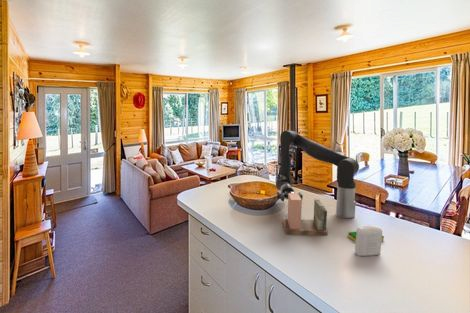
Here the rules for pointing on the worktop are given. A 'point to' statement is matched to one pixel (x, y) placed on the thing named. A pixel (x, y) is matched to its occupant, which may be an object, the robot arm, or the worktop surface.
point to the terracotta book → (294, 210)
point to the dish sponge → (353, 236)
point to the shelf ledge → (311, 222)
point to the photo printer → (368, 240)
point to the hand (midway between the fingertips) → (291, 199)
